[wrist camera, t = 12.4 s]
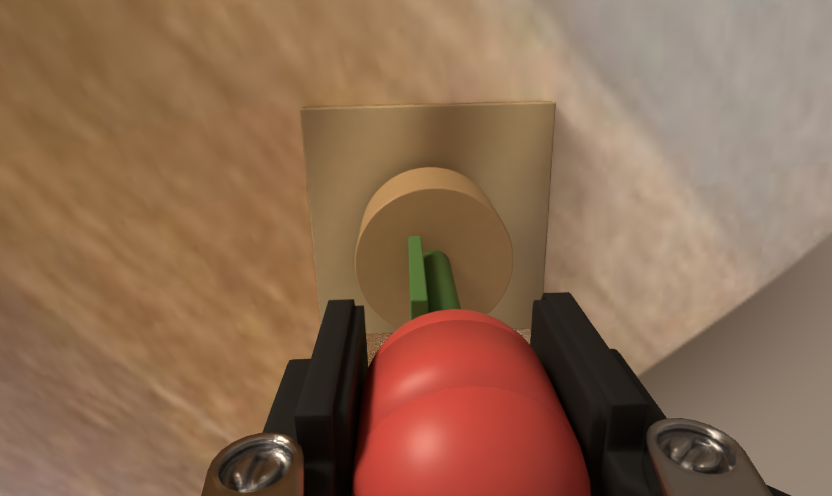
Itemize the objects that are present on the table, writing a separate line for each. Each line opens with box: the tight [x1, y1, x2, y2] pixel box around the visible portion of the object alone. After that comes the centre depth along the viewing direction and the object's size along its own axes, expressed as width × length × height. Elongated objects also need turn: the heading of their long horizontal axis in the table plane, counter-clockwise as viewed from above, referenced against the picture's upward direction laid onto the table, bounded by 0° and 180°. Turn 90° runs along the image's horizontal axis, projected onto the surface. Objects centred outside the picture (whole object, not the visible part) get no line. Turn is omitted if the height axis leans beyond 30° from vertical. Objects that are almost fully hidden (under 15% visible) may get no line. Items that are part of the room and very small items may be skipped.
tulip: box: [351, 167, 591, 496], centre depth 13 cm, size 5×5×14 cm
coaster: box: [300, 101, 556, 334], centre depth 20 cm, size 9×9×1 cm
